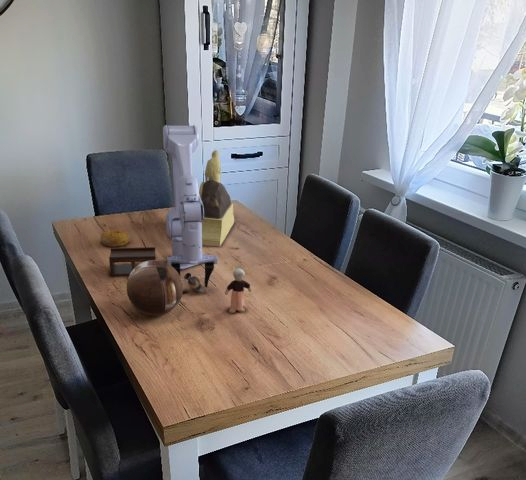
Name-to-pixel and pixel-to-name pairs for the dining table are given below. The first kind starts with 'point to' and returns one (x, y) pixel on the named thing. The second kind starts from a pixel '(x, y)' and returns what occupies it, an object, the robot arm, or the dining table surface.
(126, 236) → the bagel
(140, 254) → the shelf
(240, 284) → the grandmother figurine
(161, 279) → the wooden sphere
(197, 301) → the dining table surface
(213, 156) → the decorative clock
